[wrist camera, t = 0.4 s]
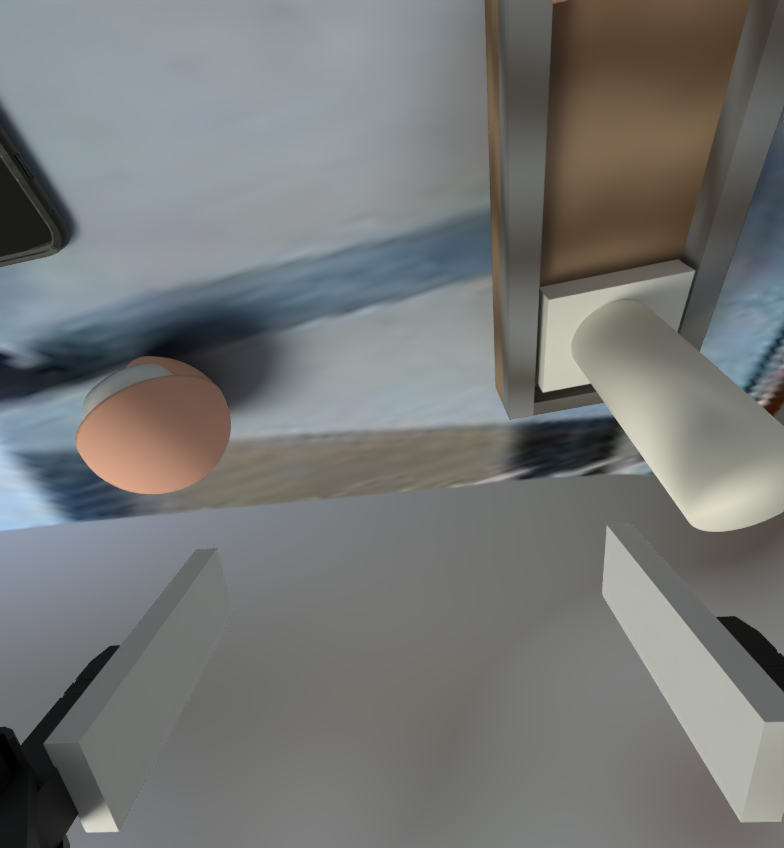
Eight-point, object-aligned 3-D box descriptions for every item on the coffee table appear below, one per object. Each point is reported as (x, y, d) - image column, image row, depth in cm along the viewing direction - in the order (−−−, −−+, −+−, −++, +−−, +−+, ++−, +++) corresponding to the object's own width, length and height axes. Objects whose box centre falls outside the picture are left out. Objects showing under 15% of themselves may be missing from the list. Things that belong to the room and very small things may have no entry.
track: (482, -94, 16) (513, -126, 13) (800, -177, 15) (914, -233, 12) (495, 386, 30) (511, 424, 27) (657, 356, 29) (692, 391, 26)
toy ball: (131, 307, 24) (62, 392, 19) (261, 367, 28) (237, 455, 22) (100, 402, 29) (35, 496, 23) (216, 445, 32) (186, 537, 26)
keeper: (538, 287, 23) (669, 455, 14) (677, 259, 23) (911, 413, 13) (534, 377, 27) (633, 556, 18) (652, 355, 26) (818, 526, 17)
